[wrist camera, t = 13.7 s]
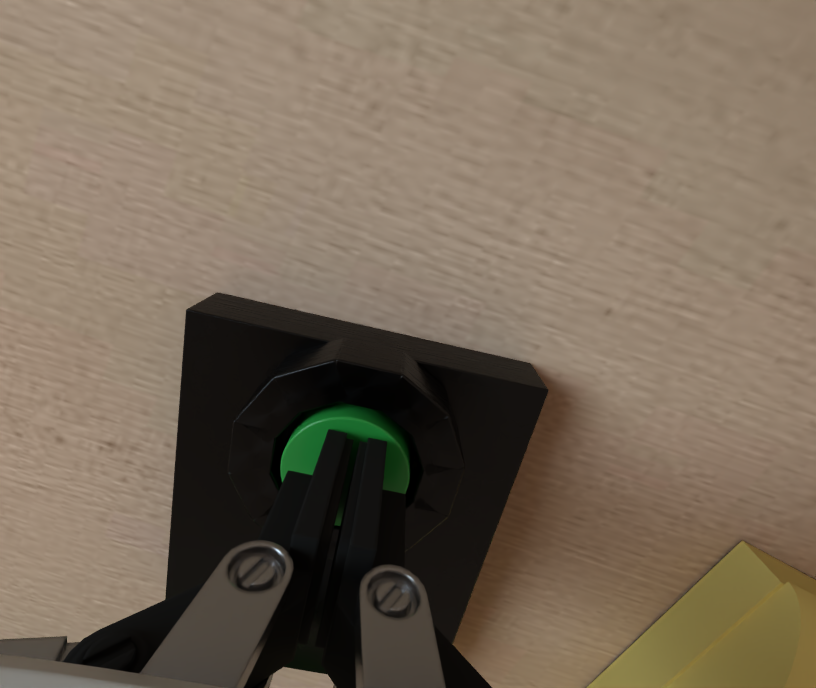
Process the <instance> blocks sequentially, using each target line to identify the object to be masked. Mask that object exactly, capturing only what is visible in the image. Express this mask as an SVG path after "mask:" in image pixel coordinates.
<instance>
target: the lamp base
mask: <svg viewBox="0 0 816 688" xmlns="http://www.w3.org/2000/svg"><path fill="white" fill-rule="evenodd" d="M547 393H548V389H547V387H546V386H545V384H544V383H543V381H542V380H541V378H540V377H539V375H538V374H537V372H536V371H535V369H534V368H533V366H532V365H531V364H530V363H526V362H522V361H517V360H513V359H509V358H504V357H500V356H495V355H491V354H487V353H482V352H478V351H473V350H469V349H464V348H460V347H456V346H451V345H447V344H442V343H438V342H434V341H429V340H425V339H420V338H416V337H412V336H407V335H403V334H398V333H394V332H389V331H385V330H381V329H376V328H372V327H367V326H363V325H359V324H354V323H350V322H345V321H341V320H337V319H332V318H328V317H323V316H319V315H314V314H310V313H306V312H301V311H297V310H292V309H288V308H284V307H279V306H275V305H270V304H266V303H262V302H257V301H253V300H248V299H244V298H239V297H235V296H231V295H226V294H222V293H215V294H214V295H212V296H210V297H208V298H206V299H205V300H203V301H201V302H199V303H197V304H196V305H194V306H192V307H190V308H188V309H187V310H186V320H185V334H184V348H183V362H182V376H181V390H180V404H179V418H178V432H177V446H176V460H175V473H174V487H173V501H172V515H171V529H170V543H169V557H168V571H167V585H166V599H169V598H171V597H173V596H175V595H178V594H180V593H182V592H184V591H186V590H189V589H191V588H193V587H195V586H197V585H200V584H202V583H204V582H206V581H207V580H208V579H209V577H210V576H211V574H212V573H213V572H214V570H215V569H216V568H217V566H218V565H219V563H220V562H221V561H222V559H223V558H224V557H225V556H226V555H227V554H228V552H229V551H230V550H231V549H233V548H235V547H236V546H238V545H240V544H242V543H246V542H249V541H256V540H258V537H259V535H260V533H261V531H262V528H263V526H264V524H265V521H266V519H267V517H268V515H269V512H270V510H271V508H272V505H273V503H274V501H275V499H276V496H277V494H278V492H279V489H280V487H281V485H282V478H281V472H280V465H281V458H282V454H283V451H284V449H285V447H286V445H287V443H288V440H289V438H290V436H291V434H292V432H293V430H294V428H295V426H296V424H297V422H298V420H299V418H300V416H301V414H302V413H303V412H305V411H309V410H312V409H316V408H320V407H323V406H327V405H331V404H334V403H338V402H341V403H346V404H350V405H355V406H360V407H365V408H369V409H374V410H379V411H382V412H383V413H384V414H385V415H387V416H388V417H389V418H390V419H391V420H393V421H394V422H395V423H396V424H398V425H399V426H400V427H401V428H402V429H404V430H405V431H406V432H407V433H408V434H409V435H410V481H409V485H408V489H407V491H406V494H405V495H406V517H405V569H407V570H409V571H411V572H412V573H413V574H414V575H416V576H417V577H418V578H419V580H420V581H421V582H422V584H423V585H424V588H425V590H426V593H427V597H428V602H429V607H430V612H431V617H432V622H433V624H434V625H435V626H436V627H437V628H438V630H439V631H440V632H441V633H442V634H443V635H444V636H445V637H446V638H447V639H448V640H449V641H450V643H451V644H453V641H454V639H455V636H456V633H457V631H458V628H459V626H460V623H461V620H462V618H463V615H464V612H465V610H466V607H467V604H468V602H469V599H470V597H471V594H472V591H473V589H474V586H475V583H476V581H477V578H478V575H479V573H480V570H481V568H482V565H483V562H484V560H485V557H486V554H487V552H488V549H489V546H490V544H491V541H492V538H493V536H494V533H495V531H496V528H497V525H498V523H499V520H500V517H501V515H502V512H503V509H504V507H505V504H506V502H507V499H508V496H509V494H510V491H511V488H512V486H513V483H514V480H515V478H516V475H517V473H518V470H519V467H520V465H521V462H522V459H523V457H524V454H525V451H526V449H527V446H528V443H529V441H530V438H531V436H532V433H533V430H534V428H535V425H536V422H537V420H538V417H539V414H540V412H541V409H542V407H543V404H544V401H545V399H546V396H547ZM339 529H340V526H337V525H334V529H333V534H332V538H331V542H330V547H329V551H328V556H327V560H326V564H325V569H324V573H323V577H322V582H321V586H320V591H319V595H318V599H317V604H316V608H315V612H314V617H313V621H312V626H311V630H310V634H309V639H308V643H307V645H302V644H297V648H296V652H295V656H294V660H293V661H291V662H290V663H288V664H287V665H285V666H284V667H287V668H293V669H299V670H305V671H311V672H317V673H323V674H327V672H326V671H325V670H324V668H323V667H322V666H321V661H322V656H323V650H324V648H319V647H315V643H316V638H317V633H318V629H319V624H320V619H321V614H322V610H323V605H324V600H325V596H326V591H327V586H328V581H329V577H330V572H331V567H332V562H333V558H334V553H335V548H336V543H337V539H338V534H339ZM166 599H165V600H166Z"/></svg>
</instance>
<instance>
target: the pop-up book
mask: <svg viewBox="0 0 816 688" xmlns="http://www.w3.org/2000/svg"><path fill="white" fill-rule="evenodd" d="M587 688H816V580H815V579H813V578H811V577H809V576H807V575H805V574H803V573H802V572H800V571H798V570H796V569H794V568H792V567H791V566H789V565H787V564H785V563H783V562H781V561H779V560H778V559H776V558H774V557H772V556H770V555H768V554H767V553H765V552H763V551H761V550H759V549H757V548H755V547H754V546H752V545H750V544H748V543H746V542H744V541H743V540H742V541H741V542H740V543H739V544H738V545H737V546H736V547H735V548H733V549H732V550H731V551H730V552H729V553H728V554H727V555H726V556H725V557H724V558H723V559H722V560H721V561H720V562H719V563H718V564H717V565H716V566H714V567H713V568H712V569H711V570H710V571H709V572H708V573H707V574H706V575H705V576H704V577H703V578H702V579H701V580H700V581H699V582H698V583H697V584H695V585H694V586H693V587H692V588H691V589H690V590H689V591H688V592H687V593H686V594H685V595H684V596H683V597H682V598H681V599H680V600H679V601H677V602H676V603H675V604H674V605H673V606H672V607H671V608H670V609H669V610H668V611H667V612H666V613H665V614H664V615H663V616H662V617H661V618H660V619H658V620H657V621H656V622H655V623H654V624H653V625H652V626H651V627H650V628H649V629H648V630H647V631H646V632H645V633H644V634H643V635H642V636H640V637H639V638H638V639H637V640H636V641H635V642H634V643H633V644H632V645H631V646H630V647H629V648H628V649H627V650H626V651H625V652H624V653H623V654H621V655H620V656H619V657H618V658H617V659H616V660H615V661H614V662H613V663H612V664H611V665H610V666H609V667H608V668H607V669H606V670H605V671H604V672H602V673H601V674H600V675H599V676H598V677H597V678H596V679H595V680H594V681H593V682H592V683H591V684H590V685H589V686H588V687H587Z"/></svg>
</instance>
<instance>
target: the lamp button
mask: <svg viewBox="0 0 816 688" xmlns="http://www.w3.org/2000/svg"><path fill="white" fill-rule="evenodd" d="M328 429H331V430H335V431H340V432H345V433H347V438H348V439H353V440H354V441H353V445H352V450H351V454H350V459H349V463H348V467H347V472H346V476H345V481H344V485H343V490H342V494H341V498H340V503H339V507H338V512H337V516H336V521H335V525H337V526H340V525H341V520H342V516H343V512H344V507H345V503H346V499H347V494H348V490H349V486H350V481H351V477H352V473H353V468H354V464H355V460H356V455H357V451H358V447H359V442H360V441H362V442H367V441H368V437H369V438H373V439H378V440H383V441H387V450H386V460H385V471H384V481H383V489H384V490H389V491H394V492H398V493H403V494H406V491H407V489H408V485H409V481H410V435H409V434H408V433H407V432H406V431H405V430H404V429H402V428H401V427H400V426H399V425H398V424H396V423H395V422H394V421H393V420H391V419H390V418H389V417H388V416H387V415H385V414H384V413H383V412H382V411H379V410H374V409H369V408H365V407H360V406H355V405H350V404H346V403H341V402H338V403H334V404H331V405H327V406H323V407H320V408H316V409H312V410H309V411H305V412H303V413H302V414H301V416H300V418H299V420H298V422H297V424H296V426H295V428H294V430H293V432H292V434H291V436H290V438H289V440H288V443H287V445H286V447H285V449H284V451H283V454H282V458H281V465H280V472H281V478H282V483H283V480H284V478H285V476H286V474H287V472H288V471H289V470H290V471H295V472H300V473H305V474H310V475H313V472H314V469H315V466H316V463H317V461H318V458H319V455H320V452H321V449H322V446H323V443H324V440H325V437H326V434H327V432H328Z"/></svg>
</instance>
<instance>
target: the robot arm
mask: <svg viewBox="0 0 816 688" xmlns="http://www.w3.org/2000/svg"><path fill="white" fill-rule="evenodd" d="M353 441H354V440H353V439H348V438H347V433H345V432H340V431H335V430H331V429H328V432H327V434H326V437H325V440H324V443H323V446H322V449H321V452H320V455H319V458H318V461H317V463H316V466H315V469H314V472H313V475H310V474H305V473H300V472H295V471H290V470H289V471H288V472H287V474H286V476H285V478H284V480H283V483H282V485H281V487H280V489H279V492H278V494H277V496H276V499H275V501H274V503H273V505H272V508H271V510H270V512H269V515H268V517H267V519H266V521H265V524H264V526H263V528H262V531H261V533H260V535H259V537H258V540H256V541H249V542H246V543H242V544H240V545H238V546H236V547H235V548H233V549H231V550H230V551H229V552H228V554H227V555H226V556H225V557H224V558H223V559H222V561H221V562H220V563H219V565H218V566H217V568H216V569H215V570H214V572H213V573H212V574H211V576H210V577H209V579H208V580H207V581H206V582H204V583H202V584H200V585H197V586H195V587H193V588H191V589H189V590H186V591H184V592H182V593H180V594H178V595H175V596H173V597H171V598H169V599H166V600H164V601H162V602H160V603H158V604H155V605H153V606H151V607H149V608H147V609H144V610H142V611H140V612H138V613H135V614H133V615H131V616H129V617H127V618H124V619H122V620H120V621H118V622H116V623H113V624H111V625H109V626H107V627H105V628H102V629H100V630H98V631H96V632H95V633H93V634H91V635H89V636H88V637H86V638H84V639H83V640H82V641H81V642H74V643H67V636H62V637H42V638H22V639H2V640H0V688H269V687H270V684H271V680H272V676H273V673H275V672H276V671H278V670H279V669H281V668H282V667H284V666H285V665H287V664H288V663H290V662H291V661H293V660H294V656H295V652H296V648H297V644H302V645H307V643H308V639H309V634H310V630H311V626H312V621H313V617H314V612H315V608H316V604H317V599H318V595H319V591H320V586H321V582H322V577H323V573H324V569H325V564H326V560H327V556H328V551H329V547H330V542H331V538H332V534H333V529H334V525H335V521H336V516H337V512H338V507H339V503H340V498H341V494H342V490H343V485H344V481H345V476H346V472H347V467H348V463H349V459H350V454H351V450H352V445H353ZM386 450H387V441H383V440H378V439H373V438H369V437H368V441H367V442H362V441H360V442H359V447H358V451H357V455H356V460H355V464H354V468H353V473H352V477H351V481H350V486H349V490H348V494H347V499H346V503H345V507H344V512H343V516H342V520H341V525H340V529H339V534H338V539H337V543H336V548H335V553H334V558H333V562H332V567H331V572H330V577H329V581H328V586H327V591H326V596H325V600H324V605H323V610H322V614H321V619H320V624H319V629H318V633H317V638H316V643H315V647H319V648H324V650H323V656H322V661H321V666H322V667H323V668H324V670H325V671H326V672H327V674H328V675H329V677H330V678H331V680H332V681H333V683H334V686H333V688H492V687H491V686H490V685H489V684H488V683H487V682H486V681H485V679H484V678H483V677H482V676H481V675H480V674H479V673H478V672H477V671H476V670H475V669H474V668H473V666H472V665H471V664H470V663H469V662H468V661H467V660H466V659H465V658H464V657H463V656H462V655H461V653H460V652H459V651H458V650H457V649H456V648H455V647H454V646H453V645H452V644H451V643H450V641H449V640H448V639H447V638H446V637H445V636H444V635H443V634H442V633H441V632H440V631H439V630H438V628H437V627H436V626H435V625H434V624H433V622H432V617H431V612H430V607H429V602H428V597H427V593H426V590H425V588H424V585H423V584H422V582H421V581H420V580H419V578H418V577H417V576H416V575H414V574H413V573H412V572H411V571H409V570H407V569H405V517H406V495H405V494H403V493H398V492H394V491H389V490H384V489H383V481H384V471H385V460H386Z"/></svg>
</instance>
